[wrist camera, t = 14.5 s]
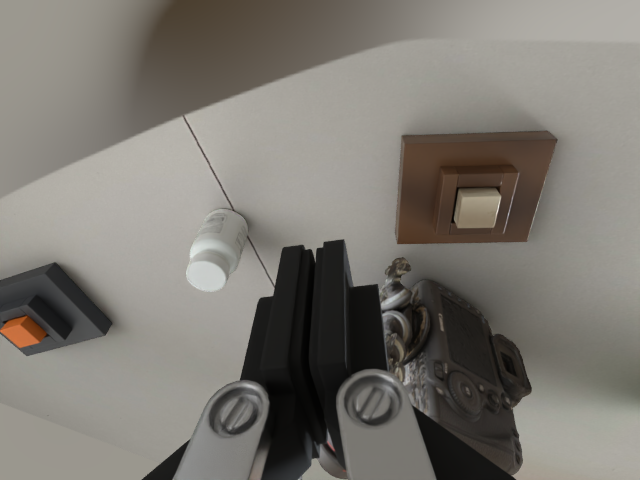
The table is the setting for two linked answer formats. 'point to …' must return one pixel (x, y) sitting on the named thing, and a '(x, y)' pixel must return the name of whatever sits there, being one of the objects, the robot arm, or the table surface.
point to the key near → (476, 207)
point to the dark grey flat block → (51, 308)
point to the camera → (450, 368)
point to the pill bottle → (217, 250)
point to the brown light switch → (470, 184)
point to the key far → (23, 331)
